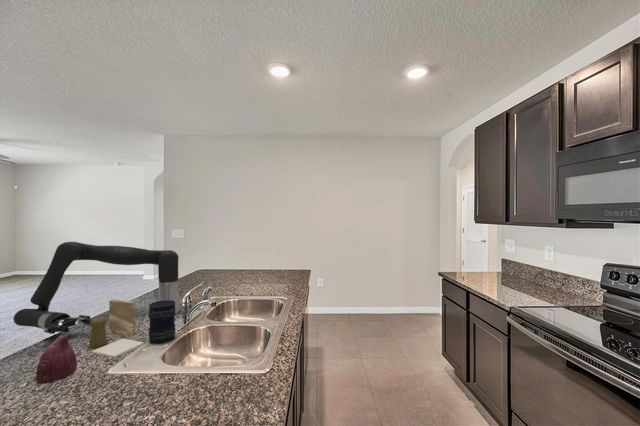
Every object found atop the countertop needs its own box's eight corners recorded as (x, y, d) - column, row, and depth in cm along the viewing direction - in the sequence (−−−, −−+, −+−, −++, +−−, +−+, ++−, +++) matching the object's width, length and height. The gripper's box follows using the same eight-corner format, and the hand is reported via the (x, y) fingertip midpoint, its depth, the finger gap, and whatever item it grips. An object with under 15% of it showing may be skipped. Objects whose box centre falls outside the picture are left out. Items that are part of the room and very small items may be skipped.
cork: (111, 342, 119) (111, 315, 119) (98, 349, 113) (99, 320, 113) (97, 342, 120) (98, 315, 120) (84, 348, 114) (84, 320, 114)
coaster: (122, 340, 122) (122, 338, 122) (144, 344, 118) (144, 342, 118) (91, 352, 110) (91, 351, 110) (114, 357, 106) (114, 355, 106)
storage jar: (143, 341, 120) (143, 304, 121) (165, 332, 129) (165, 299, 129) (158, 346, 116) (158, 308, 116) (180, 337, 125) (180, 302, 125)
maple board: (115, 329, 133) (116, 298, 133) (137, 333, 128) (137, 301, 129) (106, 333, 129) (107, 301, 129) (128, 337, 125) (128, 304, 125)
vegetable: (81, 378, 98) (95, 335, 99) (44, 391, 89) (60, 343, 90) (63, 365, 102) (76, 323, 103) (25, 376, 92) (41, 330, 93)
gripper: (33, 318, 119) (59, 322, 113) (73, 307, 132) (98, 311, 127) (33, 336, 119) (59, 342, 113) (73, 324, 132) (97, 328, 127)
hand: (79, 325), depth 120 cm, fingers open, 8 cm apart
